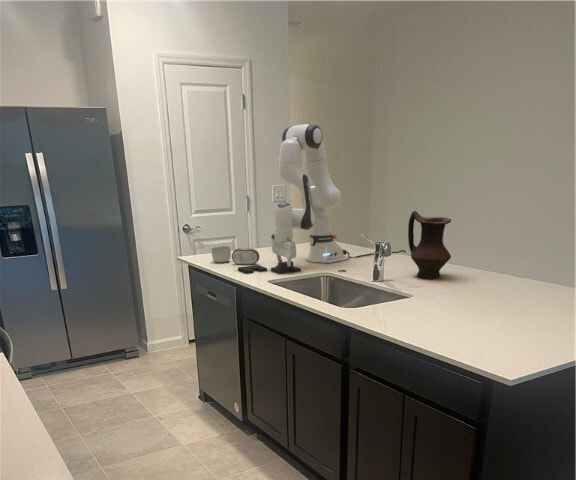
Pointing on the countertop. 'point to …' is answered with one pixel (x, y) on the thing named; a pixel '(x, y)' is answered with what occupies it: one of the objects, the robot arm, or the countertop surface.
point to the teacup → (221, 253)
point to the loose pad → (285, 268)
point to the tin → (245, 256)
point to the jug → (428, 245)
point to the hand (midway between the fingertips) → (284, 264)
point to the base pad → (252, 269)
